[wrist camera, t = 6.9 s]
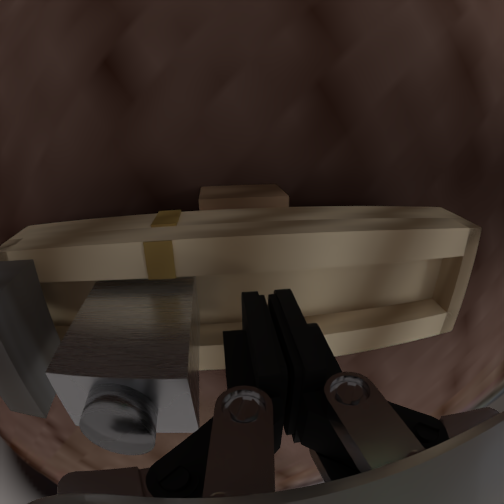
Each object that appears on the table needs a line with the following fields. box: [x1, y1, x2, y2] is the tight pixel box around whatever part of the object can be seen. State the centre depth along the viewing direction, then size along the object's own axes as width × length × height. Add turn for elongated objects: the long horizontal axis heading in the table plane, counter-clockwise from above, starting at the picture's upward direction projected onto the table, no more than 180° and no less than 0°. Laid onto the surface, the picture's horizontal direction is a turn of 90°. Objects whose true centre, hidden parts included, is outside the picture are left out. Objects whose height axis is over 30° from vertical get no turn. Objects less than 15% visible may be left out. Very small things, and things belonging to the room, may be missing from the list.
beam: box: [0, 184, 482, 418], centre depth 13 cm, size 22×7×10 cm, turn 90°
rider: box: [45, 276, 200, 455], centre depth 9 cm, size 4×2×7 cm, turn 90°
